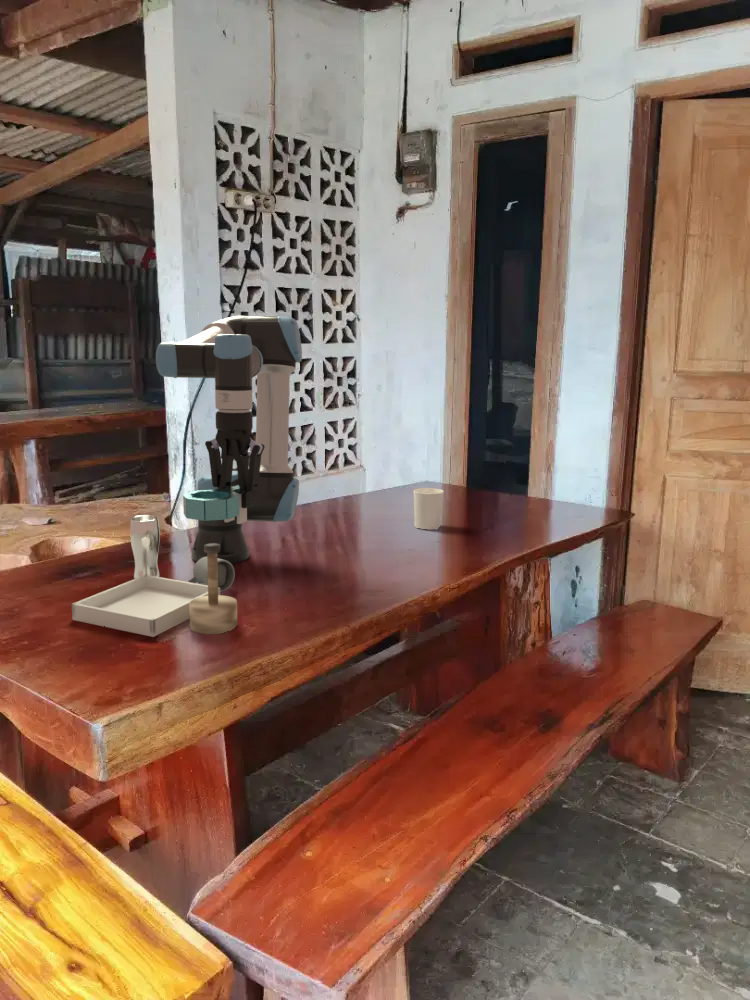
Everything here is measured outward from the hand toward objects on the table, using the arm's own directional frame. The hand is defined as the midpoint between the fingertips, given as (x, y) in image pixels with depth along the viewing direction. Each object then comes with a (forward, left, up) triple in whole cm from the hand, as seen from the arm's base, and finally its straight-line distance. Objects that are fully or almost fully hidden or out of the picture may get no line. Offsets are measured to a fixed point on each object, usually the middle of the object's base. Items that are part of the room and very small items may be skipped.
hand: (235, 521), depth 163 cm
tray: (+8, -17, -20) cm, 28 cm away
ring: (+5, 0, +3) cm, 6 cm away
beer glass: (-11, -34, -21) cm, 41 cm away
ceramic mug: (-11, -15, -21) cm, 28 cm away
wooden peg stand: (+9, 0, -20) cm, 22 cm away
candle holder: (-94, +10, -21) cm, 97 cm away
